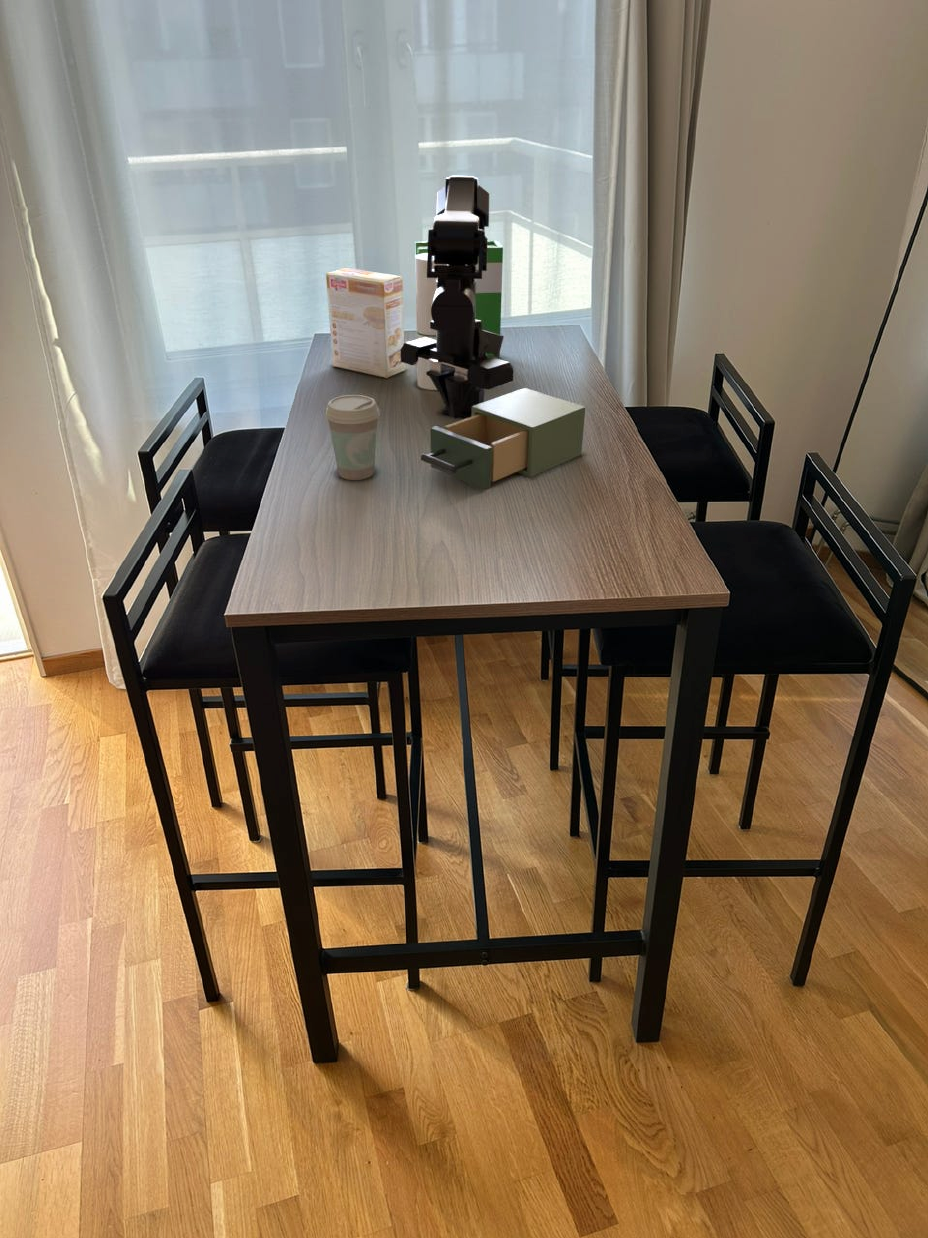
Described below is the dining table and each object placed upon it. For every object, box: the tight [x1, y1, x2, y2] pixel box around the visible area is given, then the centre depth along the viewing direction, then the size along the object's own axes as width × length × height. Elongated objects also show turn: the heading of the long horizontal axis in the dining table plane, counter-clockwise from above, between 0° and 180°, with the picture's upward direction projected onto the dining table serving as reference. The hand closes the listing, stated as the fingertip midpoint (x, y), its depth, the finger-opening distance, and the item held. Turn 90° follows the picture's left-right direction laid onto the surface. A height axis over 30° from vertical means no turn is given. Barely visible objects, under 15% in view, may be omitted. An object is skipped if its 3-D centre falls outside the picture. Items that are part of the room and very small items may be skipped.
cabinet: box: [471, 387, 586, 478], centre depth 151 cm, size 14×14×9 cm
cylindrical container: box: [414, 253, 442, 391], centre depth 178 cm, size 7×7×25 cm
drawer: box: [420, 414, 529, 490], centre depth 144 cm, size 17×12×7 cm
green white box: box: [414, 240, 504, 360], centre depth 193 cm, size 18×7×24 cm, turn 98°
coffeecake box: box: [325, 267, 406, 379], centre depth 187 cm, size 15×7×20 cm, turn 58°
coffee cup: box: [325, 394, 381, 481], centre depth 143 cm, size 9×9×12 cm
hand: (455, 417), depth 137 cm, fingers closed
